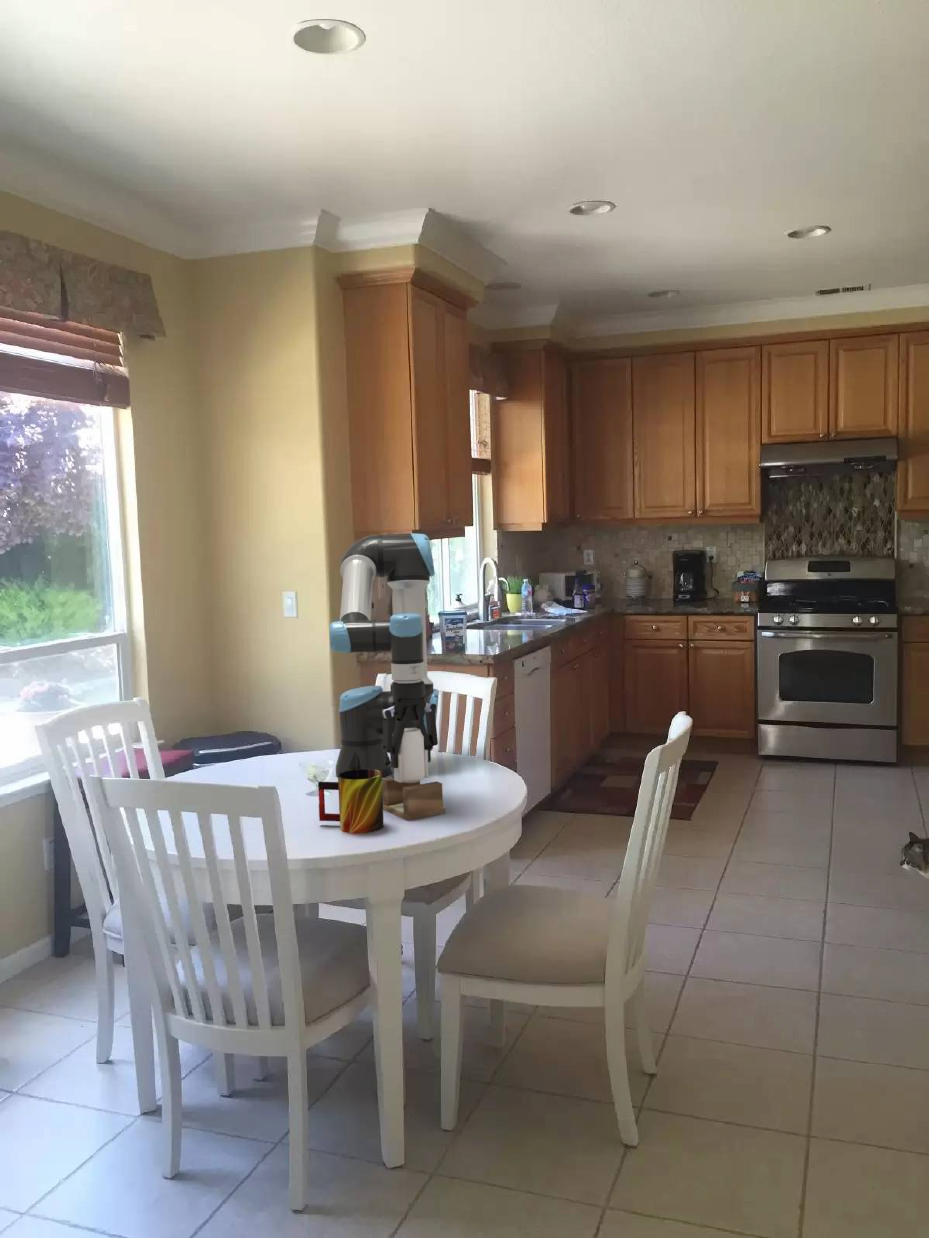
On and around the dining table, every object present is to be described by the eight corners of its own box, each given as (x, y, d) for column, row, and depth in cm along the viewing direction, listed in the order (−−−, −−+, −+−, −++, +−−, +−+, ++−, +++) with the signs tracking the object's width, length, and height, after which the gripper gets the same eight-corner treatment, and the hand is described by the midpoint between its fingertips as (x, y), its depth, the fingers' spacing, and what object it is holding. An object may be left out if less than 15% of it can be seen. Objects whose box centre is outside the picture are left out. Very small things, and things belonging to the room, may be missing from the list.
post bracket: (380, 808, 242) (379, 779, 241) (417, 801, 247) (416, 772, 247) (408, 820, 231) (406, 790, 231) (445, 812, 237) (444, 783, 236)
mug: (319, 824, 230) (317, 772, 229) (380, 819, 233) (378, 767, 232) (322, 837, 221) (320, 782, 220) (386, 831, 224) (384, 777, 223)
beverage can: (395, 783, 236) (393, 732, 235) (401, 777, 242) (400, 727, 241) (421, 783, 235) (420, 732, 234) (427, 777, 241) (425, 727, 240)
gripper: (379, 686, 228) (383, 788, 230) (451, 678, 239) (454, 775, 241) (363, 683, 234) (367, 782, 236) (435, 674, 245) (438, 769, 247)
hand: (411, 778), depth 238 cm, fingers closed on beverage can, 6 cm apart
